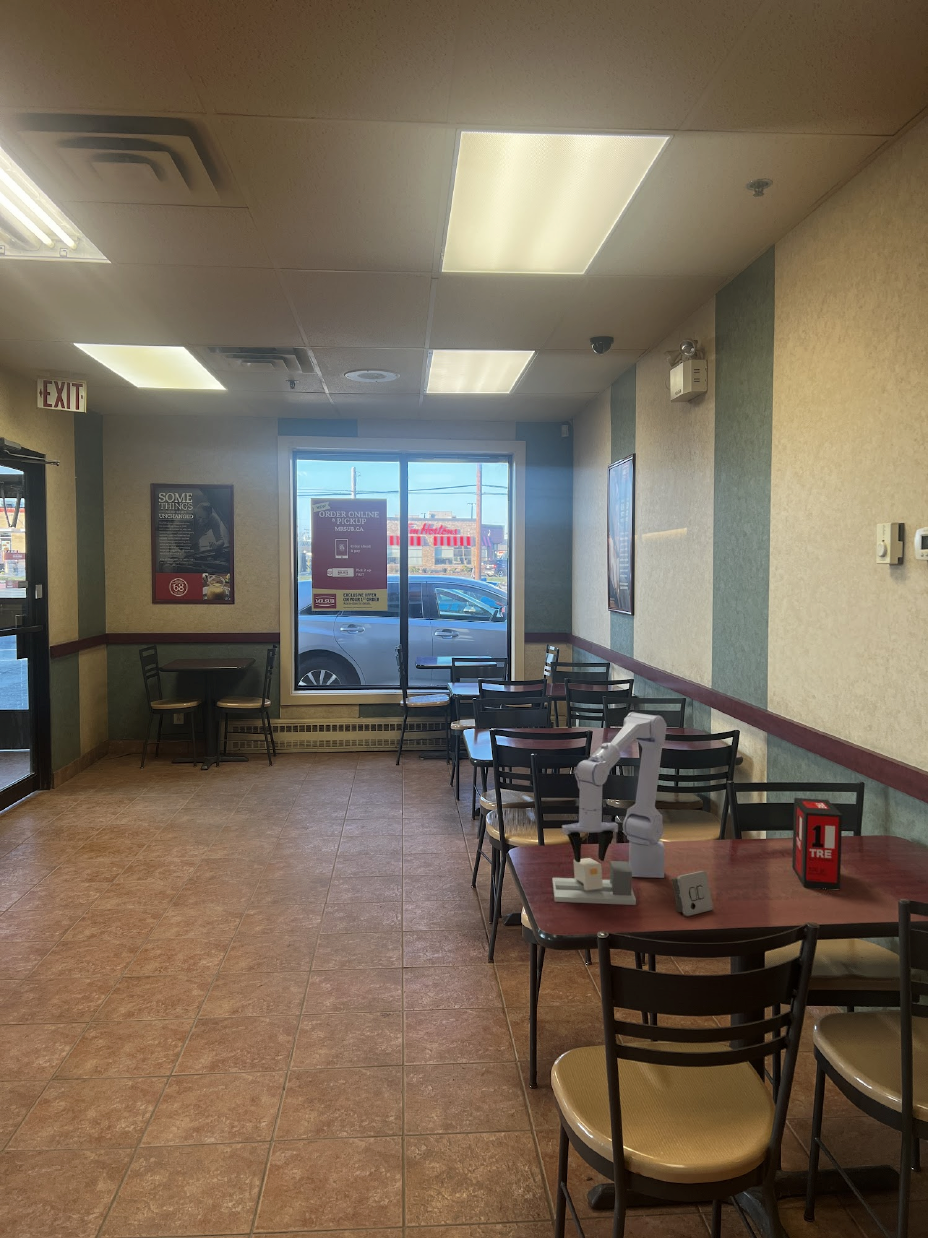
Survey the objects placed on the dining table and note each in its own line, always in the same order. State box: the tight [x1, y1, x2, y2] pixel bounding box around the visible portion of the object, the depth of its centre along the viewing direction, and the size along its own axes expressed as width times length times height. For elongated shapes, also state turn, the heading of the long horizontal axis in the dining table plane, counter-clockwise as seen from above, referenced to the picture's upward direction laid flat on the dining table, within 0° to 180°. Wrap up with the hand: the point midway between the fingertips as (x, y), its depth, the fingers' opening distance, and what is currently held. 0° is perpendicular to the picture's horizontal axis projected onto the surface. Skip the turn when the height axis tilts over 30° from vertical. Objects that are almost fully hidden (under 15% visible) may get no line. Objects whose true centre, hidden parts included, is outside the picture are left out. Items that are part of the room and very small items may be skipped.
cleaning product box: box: [791, 797, 843, 890], centre depth 225 cm, size 16×9×20 cm, turn 168°
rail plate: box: [551, 860, 637, 906], centre depth 211 cm, size 20×14×7 cm
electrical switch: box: [671, 870, 714, 917], centre depth 201 cm, size 9×5×9 cm, turn 121°
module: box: [572, 857, 603, 890], centre depth 211 cm, size 4×9×6 cm, turn 13°
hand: (589, 860), depth 211 cm, fingers open, 6 cm apart
